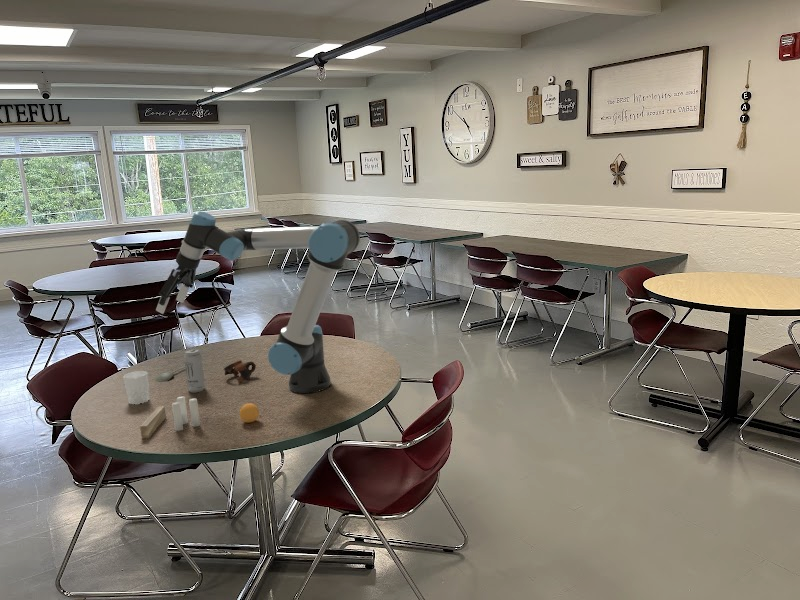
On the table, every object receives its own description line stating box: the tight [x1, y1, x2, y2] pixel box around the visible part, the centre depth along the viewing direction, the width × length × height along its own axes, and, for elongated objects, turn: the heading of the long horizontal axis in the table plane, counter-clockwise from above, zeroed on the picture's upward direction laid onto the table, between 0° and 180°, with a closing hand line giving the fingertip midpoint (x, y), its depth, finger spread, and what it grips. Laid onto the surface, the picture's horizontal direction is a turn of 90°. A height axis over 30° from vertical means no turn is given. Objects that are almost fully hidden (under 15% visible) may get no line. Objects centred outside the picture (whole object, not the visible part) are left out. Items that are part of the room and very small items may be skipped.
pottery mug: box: [223, 360, 257, 383], centre depth 234 cm, size 12×10×8 cm
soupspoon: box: [154, 365, 185, 383], centre depth 244 cm, size 22×3×7 cm
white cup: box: [123, 370, 150, 405], centre depth 213 cm, size 8×8×10 cm
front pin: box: [188, 397, 201, 428], centre depth 190 cm, size 2×2×8 cm
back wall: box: [139, 405, 167, 439], centre depth 190 cm, size 2×16×4 cm, turn 3°
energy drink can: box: [183, 348, 206, 393], centre depth 221 cm, size 6×6×15 cm
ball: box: [239, 402, 260, 424], centre depth 191 cm, size 6×6×6 cm
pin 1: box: [176, 396, 189, 425], centre depth 192 cm, size 2×2×8 cm
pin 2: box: [171, 401, 184, 432], centre depth 187 cm, size 2×2×8 cm
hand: (169, 306), depth 214 cm, fingers open, 13 cm apart
